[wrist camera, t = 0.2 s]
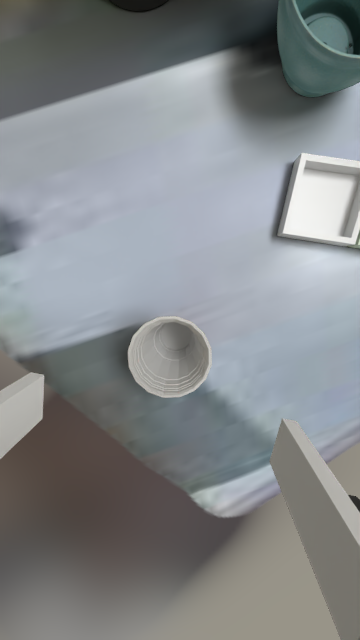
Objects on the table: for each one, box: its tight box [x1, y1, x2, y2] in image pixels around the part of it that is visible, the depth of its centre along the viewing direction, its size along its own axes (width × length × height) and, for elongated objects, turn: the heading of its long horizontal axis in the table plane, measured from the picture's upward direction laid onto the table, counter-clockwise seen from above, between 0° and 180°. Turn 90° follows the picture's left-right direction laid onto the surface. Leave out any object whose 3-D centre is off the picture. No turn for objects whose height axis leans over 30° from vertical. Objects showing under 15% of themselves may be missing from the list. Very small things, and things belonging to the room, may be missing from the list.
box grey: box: [277, 153, 360, 246], centre depth 33 cm, size 11×11×2 cm
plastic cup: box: [128, 316, 212, 398], centre depth 34 cm, size 11×11×12 cm
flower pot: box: [277, 0, 360, 97], centre depth 26 cm, size 16×16×11 cm
